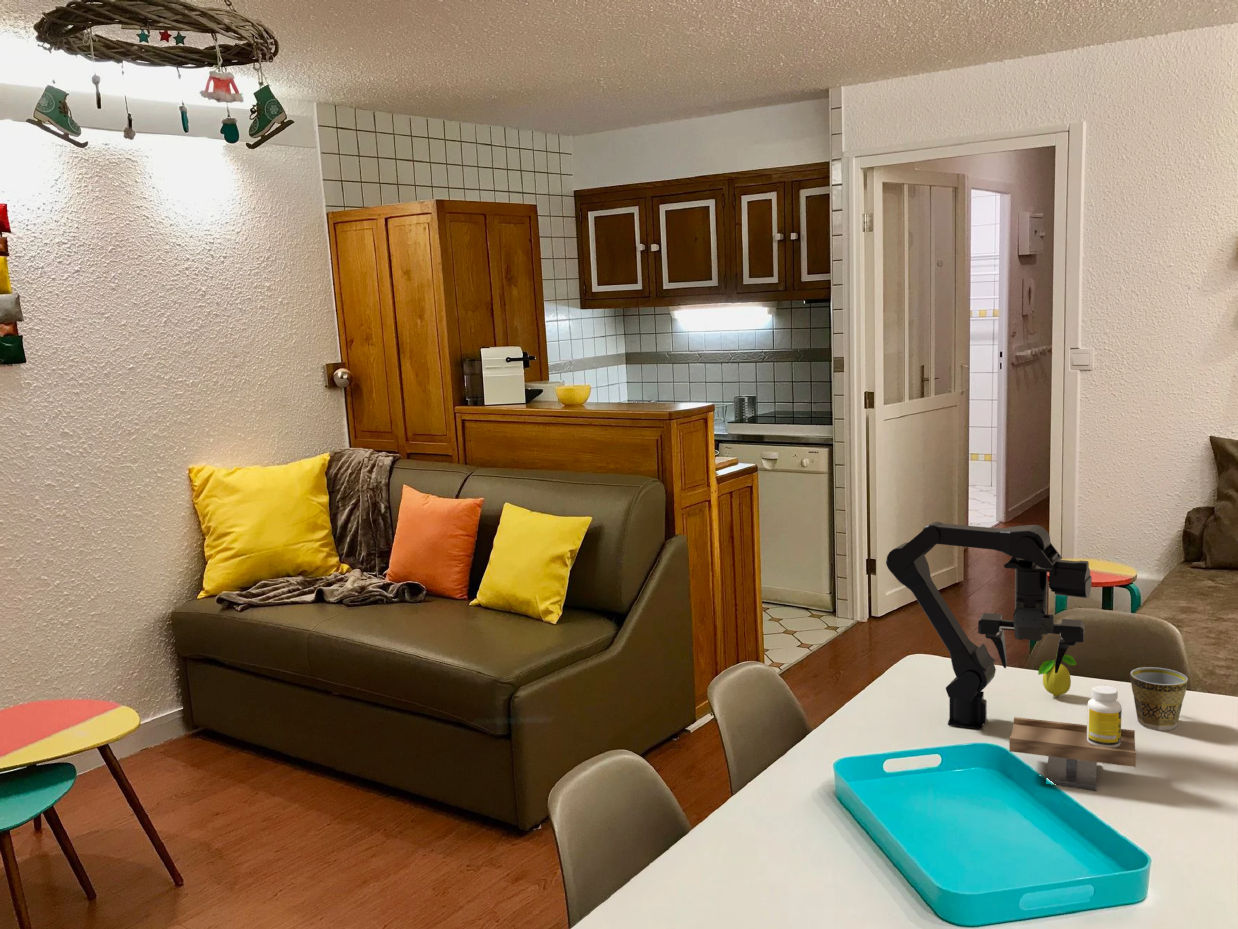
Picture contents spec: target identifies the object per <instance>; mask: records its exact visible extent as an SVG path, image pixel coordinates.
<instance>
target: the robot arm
mask: <svg viewBox="0 0 1238 929" xmlns="http://www.w3.org/2000/svg"><path fill="white" fill-rule="evenodd" d="M937 545H943V546H945V545H946V546H952V547H953V546H954V547H962V548H972V549H973V548H974V549H983V550H991V551H997V552H1001V553H1003V554H1005V555H1007V556H1008V557H1009V556H1010V560H1008V561H1007V562H1006V563H1005V564H1003V567H1004V569H1012V570H1013V569H1014V611H1013V620H1011V619H1003V614H1002V613H991V612H990V613H989V612H983V613H982V614H980V617H979V619H978V622H977V623H978V624H977V627H978V628H977V633H978V634H980V635H984V637H985V638H986V639H989V640H991V641H992V642H993V644H994V646H995V647H996V649H997V652H998V656H999V658H1000V659H999V660H1001V661H1000V662H1001V664H1002V667H1003V669H1007V660H1008V659H1007V649H1006V641H1005V640H1006V638H1005V631H1014V638H1015V639H1016V640H1018V641H1021V640H1022V641H1023V640H1031V641H1033V642H1040V641H1042V639H1043V635H1048V634H1049V635H1050V634H1051V635H1053V634H1054V635H1059V639H1058V644H1057V645H1058V646H1057V651H1056V652H1057V656H1056V658H1055V659H1056V660H1055V661H1054V663H1055V673H1057V672H1058V670H1059V667H1060V664H1062V662H1063V660H1062V659H1063V656H1064V655H1066V652H1068V649H1069V648H1070V647H1071V646H1073V647H1074V646H1077V643H1084V639H1085V623H1084V622H1083V621H1082V620H1080V619H1069V618H1062V619H1061V624H1060V623H1055V619H1054V614H1048V589H1049V590H1050V591H1051V592H1053V593H1054V595H1055V596H1062V597H1063V596H1064V597H1073V598H1082V599H1089V597H1090V596H1091V591H1092V579H1093V578H1092V577H1093V576H1092V575H1091V569H1090V567H1089V566H1090V563H1089V561H1087V560H1066V559H1062V555H1061V554H1060V553H1059V551H1058V550H1057V549H1056V548H1055V546H1054V545H1053V544H1052V542H1051V535H1050V534H1049V532H1048V530H1046V529H1045V528H1044V526H1041V525H1039V524H1038V525H1037V524H1027V525H1016V526H1009V527H1002V528H1001V527H1000V528H999V527H998V528H997V527H989V526H988V527H985V526H975V525H966V524H964V525H963V524H953V523H945V522H944V523H943V522H941V521H933V522H931V523H929V524H927V525H925V527H924V528H923V529H922V531H921V532H919V533H918V534H916V535H915V536H914V537H913V538H912V539H911V540H910V541H909V542H908V541H907V542H903V543H902V544H900V545H899V546H896V547H895V548H893V549H892V550H891V551H889V553H888V554H887V556H886V560H885V565H886V567H887V569H888V571H889V572H890V573H891V574H892V575H893V576H894V578H895V579H896V580H897V581H898V582H899V583H900V584H901V585H903V586H904V587H905V588H907V589H908V590H910V591H911V592H912V594H913V596H914V598H915V600H916V601H917V602H918V604H919V606H920V607H921V608H922V610H923V612H924V613H925V615H926V617H927V619H928V620H929V622H930V624H931V625H932V627H934V629H935V631H936V633H937V635H938V636H939V638H940V640H941V641H942V643H943V644H944V646H945V647H946V649H947V651H948V652H949V655H950V660H951V666H952V669H953V672H954V675H955V677H954V678H953V679H952V680H951V681H950V683H949V684H947V686H945V691H946V694H947V696H948V698H949V701H948V705H949V707H948V710H949V714H948V715H949V716H948V717H949V718H948V721H947V726H950V725H952V726H951V727H960V728H967V729H975V730H983V726H984V724H986V722H987V720H988V718H987V717H988V716H987V714H988V713H987V708H988V706H987V699H985V698H984V697H985V695H984V691H983V690H985V689H986V687H987V686H988V685H989V683H991V681H993V679H994V677H995V675H996V671H997V669H996V665H995V664H994V663H995V662H996V659H995V658H993V657H992V656H991V655H990V652H989V651H988V648H987V647H986V645H985V644H984V643H982V644H981V645H979V646H978V645H977V644H975V643H973V642H972V641H971V640H970V638H969V637H968V635H967V634H966V633H965V631H964V629H963V627H962V626H961V625H960V623H959V621H958V619H957V618H956V616H955V614H954V613H953V611H952V610H951V609H950V606H949V605H948V603H947V602H946V600H945V599H944V597H943V596H942V593H941V592H940V591H939V589H938V588H937V586H936V584H935V583H934V581H933V579H932V576H931V571H930V567H929V562H928V560H927V558H926V554H927V553H929V552H930V551H931V550H932V549H933V548H934V547H935V546H937ZM1048 587H1049V588H1048Z"/></svg>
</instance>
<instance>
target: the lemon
mask: <svg viewBox="0 0 1238 929" xmlns="http://www.w3.org/2000/svg"><path fill="white" fill-rule="evenodd" d="M1055 654H1056V656H1057V651H1056V653H1055ZM1055 662H1056V658H1055V659H1048V660H1045V661H1043V663H1042V664H1041V665H1040V666H1039V668H1038V671H1037V674H1038V675H1042V685H1043V687H1044V689H1045V690H1046V691H1047V693H1049V694H1051V695H1053V697H1055V698H1057V697H1059V696H1061V695H1065V694H1067V693H1068V692H1069V691H1070V689H1071V683H1072V682H1071V681H1072V680H1071V675H1070V672H1069V669H1068V668H1067V667H1066V666H1065V665H1064V664H1062V663H1061V664H1060V667H1059V670H1058V672H1057V673H1055ZM1062 662H1064V663H1066V664H1067V665H1069V666H1076V665H1077V662H1076V660H1075V658H1074V657H1073V656H1072V655H1071V654H1064V656H1063V659H1062Z"/></svg>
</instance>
